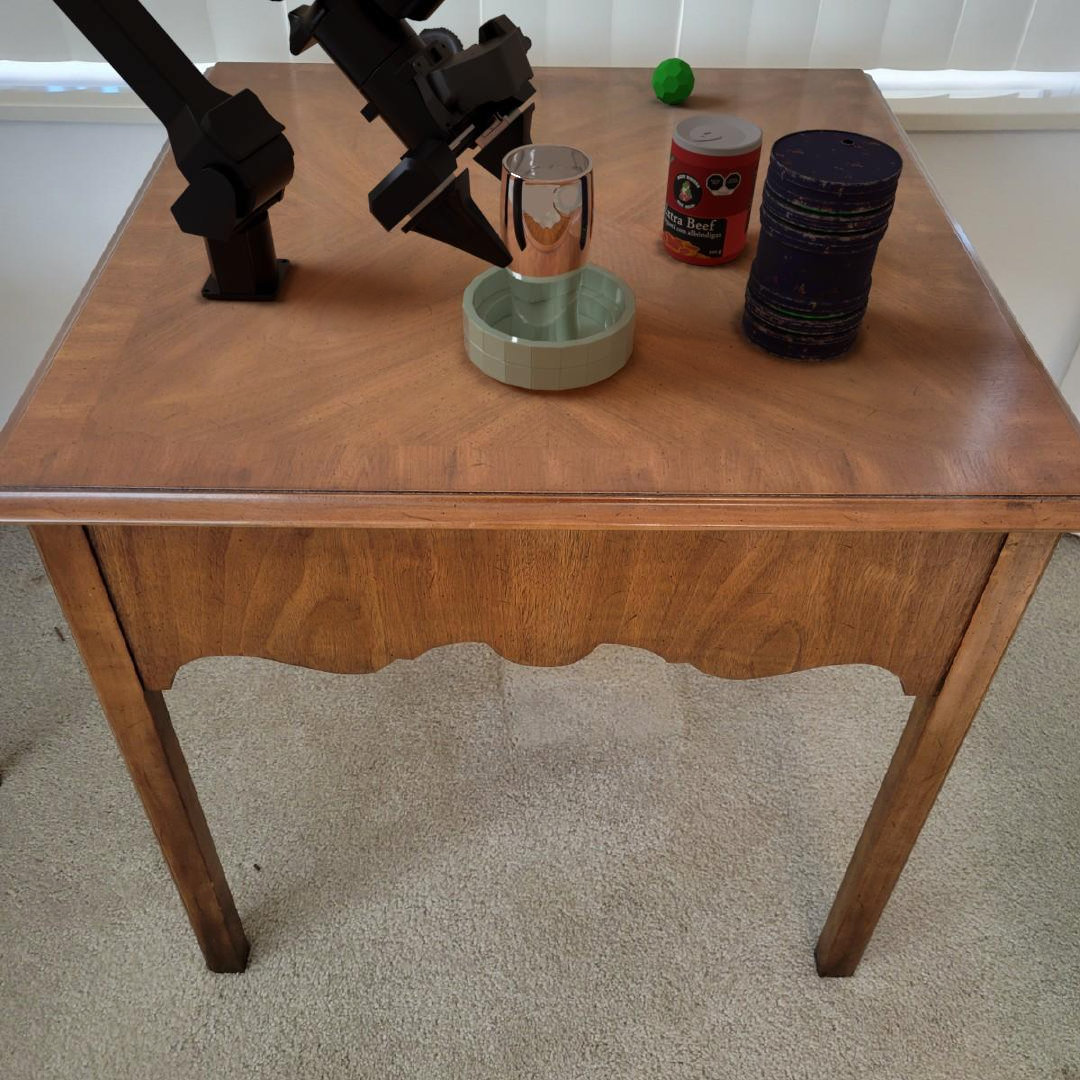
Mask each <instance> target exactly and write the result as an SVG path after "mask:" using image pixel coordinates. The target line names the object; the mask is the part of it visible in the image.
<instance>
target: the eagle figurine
mask: <svg viewBox="0 0 1080 1080" xmlns="http://www.w3.org/2000/svg"><path fill="white" fill-rule="evenodd" d="M417 35H418V36H419V37H420V38H421V39H422V41H423V42H424V43H425V44H426V46H428V45H429V44H430V43H432V42H433V41H434V40H436V39H437V40H438V41H439V42H440V41H441V42H443V43H445V44H446V46H447V47H448V48H449V49H450V51H451V52H452V53H453V54H456V53H458V52H461V51H463V50H465V49H464V44H463V43H462V40H461V39H460V38H459V36H458V35H457V34H455V33H454V32H453V31H452V30H450V29H449V28H446V27H443V26H440V27H432V28H429V27H427V28H425V27H424V28H423V29H422V30H421V31H420V32H419V33H418V34H417Z"/></svg>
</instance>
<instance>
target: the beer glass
mask: <svg viewBox="0 0 1080 1080" xmlns="http://www.w3.org/2000/svg"><path fill="white" fill-rule="evenodd" d="M499 191H500V195H499V229H500V238H501V240H502V241H503V242H504V244H505V246H506V247H507V249H508V251H509V252H510V254H511V255H512V257H513V262H512V263H511V264H510V265H508V266H507V267H506V269H507V274H508V278H509V284H510V289H511V296H512V315H511V321H510V326H509V330H508V335H509V336H513V337H517V338H522V339H527V340H531V341H551V342H562V341H569V340H576V339H582V336H581V330H580V324H579V317H578V302H579V294H580V289H581V285H582V280H583V276H584V272H585V268H586V264H587V262H588V259H589V254H590V251H591V250H590V249H591V244H592V239H593V233H594V232H593V231H594V221H595V220H594V219H595V218H594V217H595V182H594V159H593V158H592V156H591V155H590V154H589V153H588V152H586V151H585V150H583V149H581V148H579V147H576V146H573V145H569V144H564V143H555V142H536V143H533V144H529V145H524V146H520V147H517V148H515V149H513V150H511V151H509V152H508V153H507V154H506V155H505V156H504V157H503V159H502V178H501V181H500V190H499Z"/></svg>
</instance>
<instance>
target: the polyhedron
mask: <svg viewBox="0 0 1080 1080" xmlns="http://www.w3.org/2000/svg"><path fill="white" fill-rule="evenodd" d="M651 78H652V79H651V86H652V88H653V91H654V94H655V96H656V98H657V99H658V100H660V101H661V102H662V103H665V104H667V105H669V106H671V105H678V104H681V103H683V102H685V101H686V100H687V99H688V98H689V96H690V95H691V94H692V92H693V90H694V87H695V82H696V81H695V80H696V78H695V76H694V73H693V70H692V67H691V65H690V64H689V63H688V62H686V61H685V60H684V59H681V58H678V57H672V58H667V59H665V60H663V61H661V62H660V63H659V64H658V65H657V66H656V67H655V68H654V72H653V73H652V77H651Z"/></svg>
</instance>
